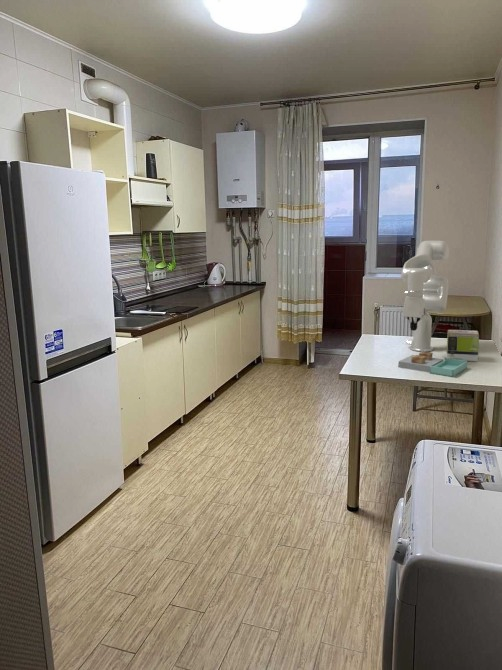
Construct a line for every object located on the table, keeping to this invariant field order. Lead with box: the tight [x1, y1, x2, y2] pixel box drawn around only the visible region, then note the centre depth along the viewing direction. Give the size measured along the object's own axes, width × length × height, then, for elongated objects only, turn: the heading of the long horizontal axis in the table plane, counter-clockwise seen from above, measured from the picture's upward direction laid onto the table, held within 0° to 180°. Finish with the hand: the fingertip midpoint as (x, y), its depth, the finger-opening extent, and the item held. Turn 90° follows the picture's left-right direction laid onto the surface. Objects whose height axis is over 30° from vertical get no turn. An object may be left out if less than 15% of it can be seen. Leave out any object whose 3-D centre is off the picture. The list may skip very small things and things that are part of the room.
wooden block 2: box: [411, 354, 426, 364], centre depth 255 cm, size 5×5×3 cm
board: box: [398, 354, 444, 373], centre depth 259 cm, size 16×17×3 cm
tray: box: [429, 357, 469, 378], centre depth 250 cm, size 11×20×4 cm, turn 140°
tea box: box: [446, 329, 480, 362], centre depth 271 cm, size 15×10×15 cm
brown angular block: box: [418, 351, 433, 360], centre depth 261 cm, size 5×5×3 cm
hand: (413, 329), depth 263 cm, fingers closed
